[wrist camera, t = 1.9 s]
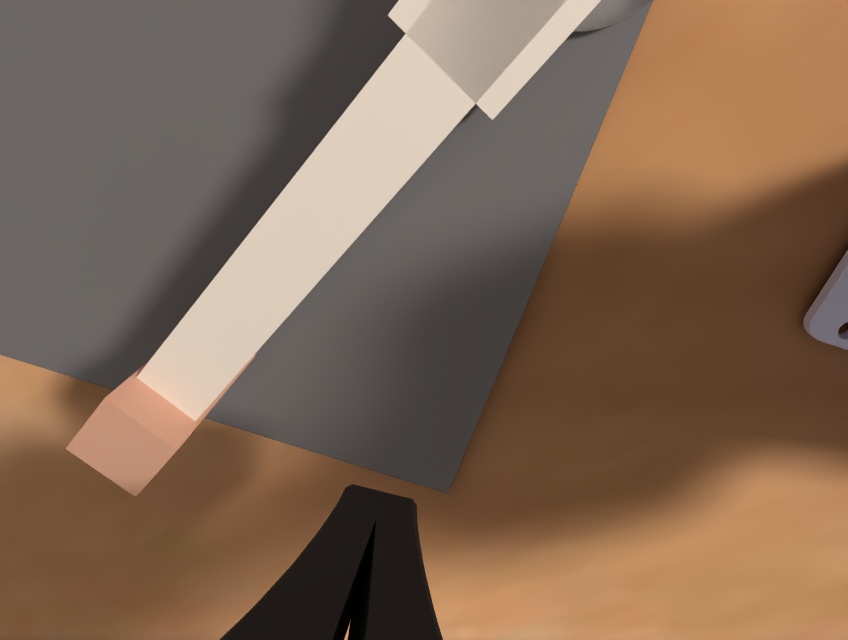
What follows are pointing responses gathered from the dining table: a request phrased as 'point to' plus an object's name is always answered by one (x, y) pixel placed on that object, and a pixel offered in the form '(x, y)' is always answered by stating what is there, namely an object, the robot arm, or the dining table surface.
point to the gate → (324, 214)
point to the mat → (253, 195)
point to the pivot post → (609, 13)
